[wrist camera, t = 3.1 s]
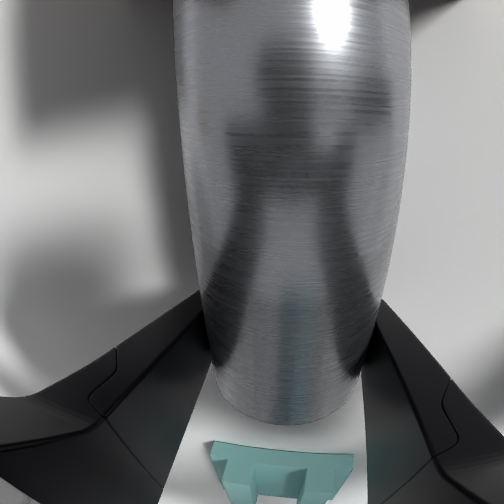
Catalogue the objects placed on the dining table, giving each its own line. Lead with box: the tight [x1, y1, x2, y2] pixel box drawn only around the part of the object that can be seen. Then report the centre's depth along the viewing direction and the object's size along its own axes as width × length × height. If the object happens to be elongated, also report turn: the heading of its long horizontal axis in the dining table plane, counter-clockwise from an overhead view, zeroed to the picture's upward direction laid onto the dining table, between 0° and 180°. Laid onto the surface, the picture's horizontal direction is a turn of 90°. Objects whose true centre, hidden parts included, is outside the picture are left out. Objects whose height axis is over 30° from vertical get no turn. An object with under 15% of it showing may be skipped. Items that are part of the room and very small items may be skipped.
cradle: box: [210, 441, 353, 504], centre depth 16 cm, size 8×7×2 cm
